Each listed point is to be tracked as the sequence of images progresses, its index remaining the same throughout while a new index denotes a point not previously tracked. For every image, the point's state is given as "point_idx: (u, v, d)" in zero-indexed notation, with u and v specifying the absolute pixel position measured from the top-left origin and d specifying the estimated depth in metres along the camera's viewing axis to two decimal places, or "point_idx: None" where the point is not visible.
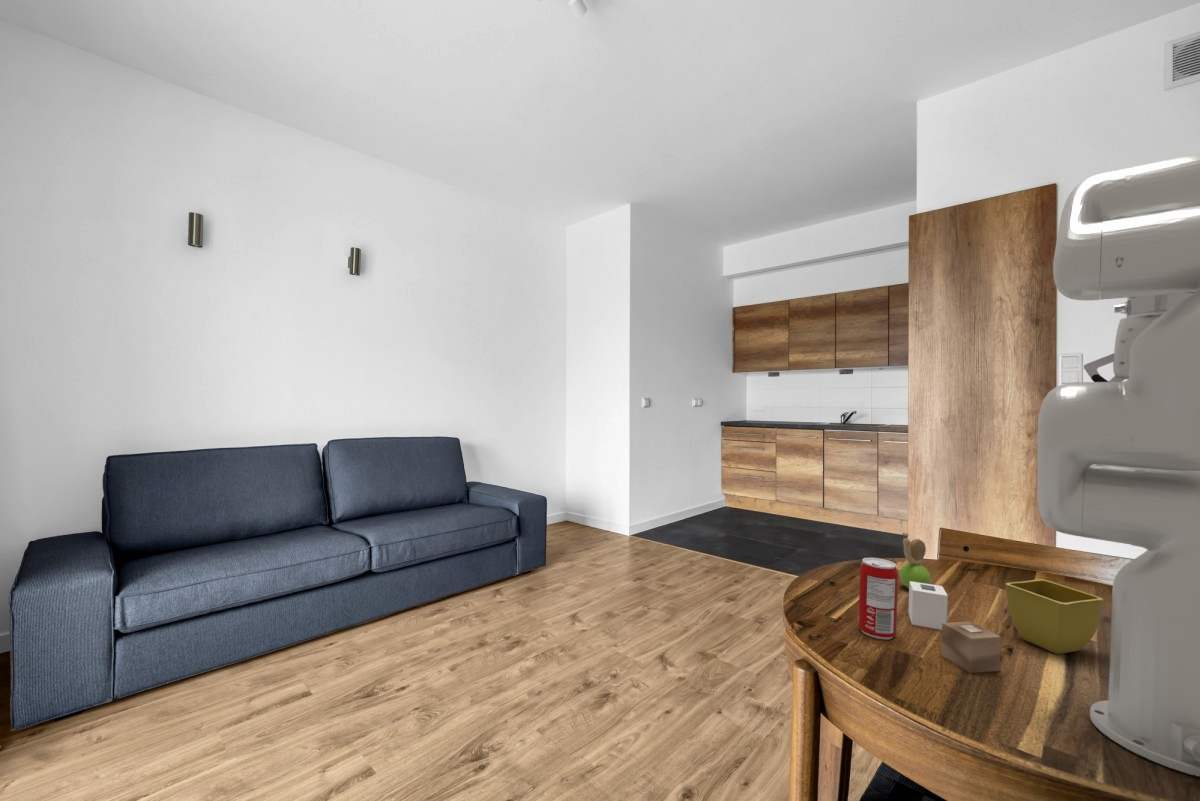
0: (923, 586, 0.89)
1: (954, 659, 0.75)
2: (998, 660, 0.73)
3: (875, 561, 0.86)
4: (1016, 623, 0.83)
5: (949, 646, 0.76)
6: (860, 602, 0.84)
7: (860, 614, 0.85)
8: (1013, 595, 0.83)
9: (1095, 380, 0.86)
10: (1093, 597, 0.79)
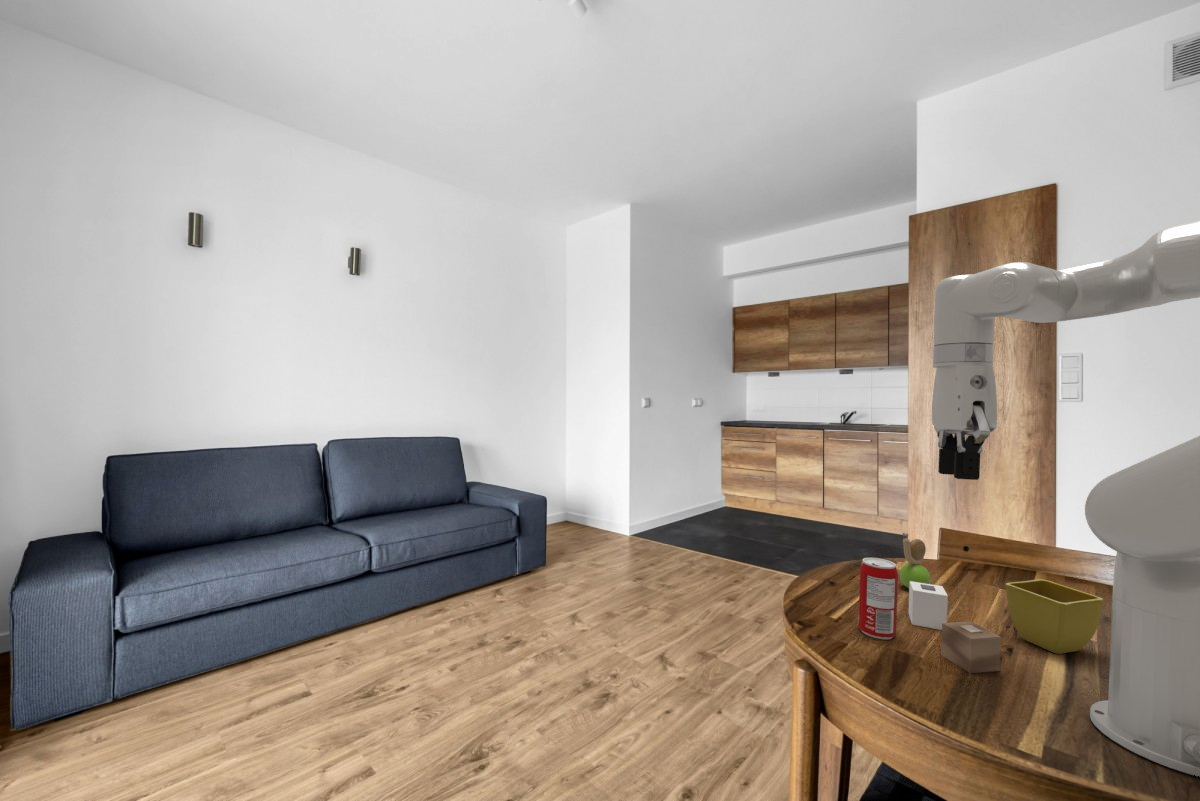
0: (923, 586, 0.89)
1: (954, 659, 0.75)
2: (998, 660, 0.73)
3: (875, 561, 0.86)
4: (1016, 623, 0.83)
5: (949, 646, 0.76)
6: (860, 602, 0.84)
7: (860, 614, 0.85)
8: (1013, 595, 0.83)
9: (982, 442, 0.73)
10: (1093, 597, 0.79)
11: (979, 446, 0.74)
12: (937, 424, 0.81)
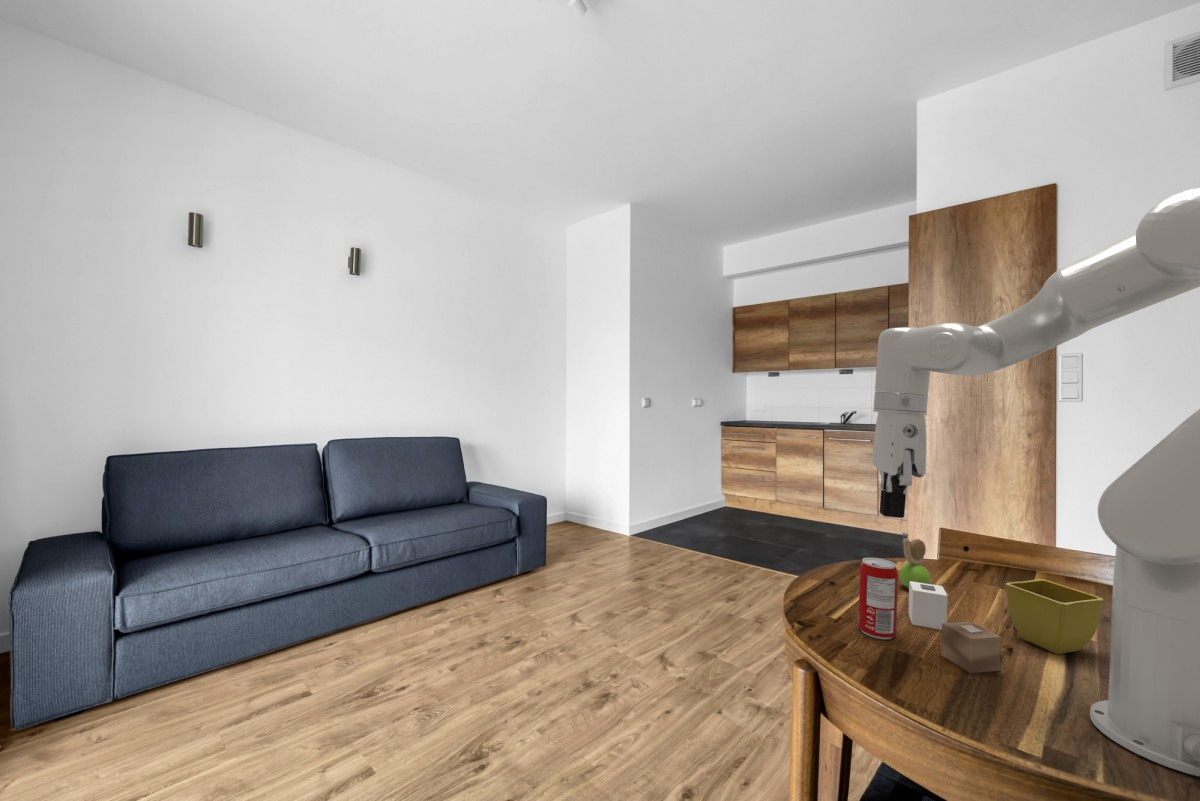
0: (923, 586, 0.89)
1: (954, 659, 0.75)
2: (998, 660, 0.73)
3: (875, 561, 0.86)
4: (1016, 623, 0.83)
5: (949, 647, 0.76)
6: (860, 602, 0.84)
7: (860, 614, 0.85)
8: (1013, 595, 0.83)
9: (906, 485, 0.80)
10: (1093, 597, 0.79)
11: (903, 488, 0.81)
12: (876, 464, 0.86)
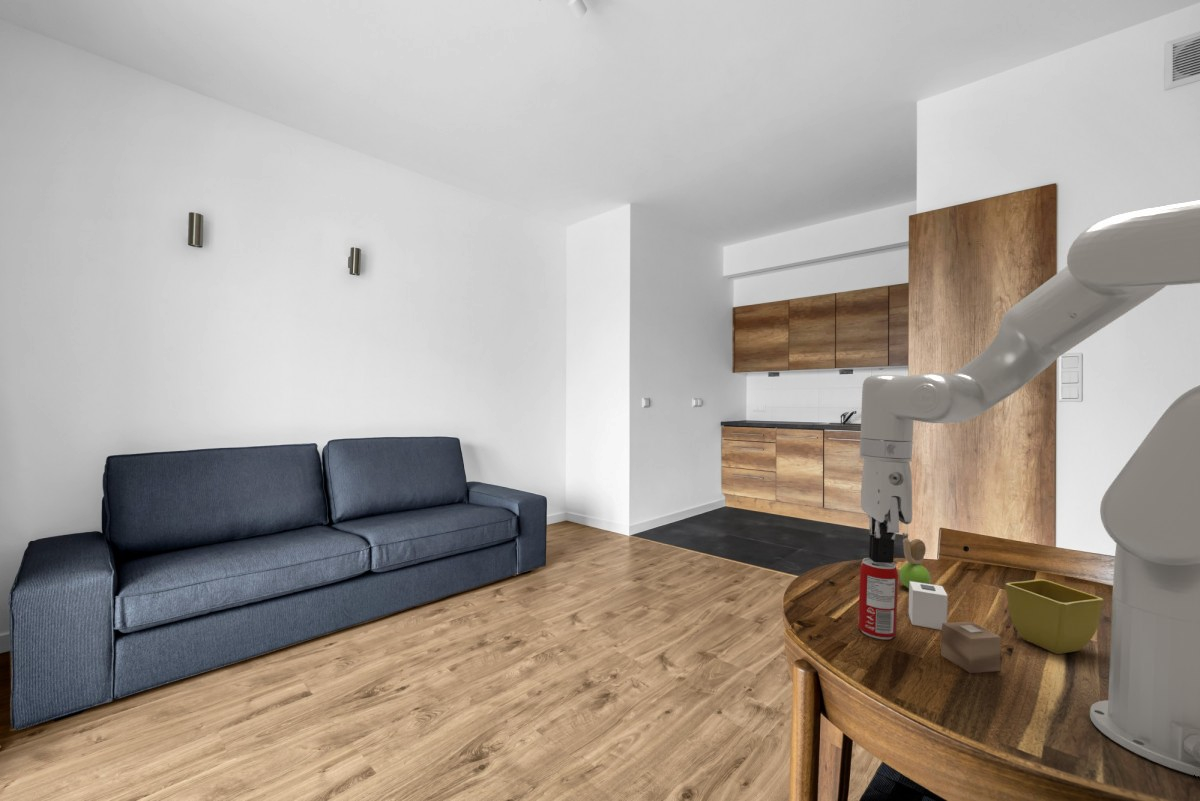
0: (923, 586, 0.89)
1: (954, 659, 0.75)
2: (998, 660, 0.73)
3: None
4: (1016, 623, 0.83)
5: (949, 647, 0.76)
6: (860, 602, 0.84)
7: (860, 614, 0.85)
8: (1013, 595, 0.83)
9: None
10: (1093, 597, 0.79)
11: (891, 534, 0.81)
12: (864, 509, 0.87)
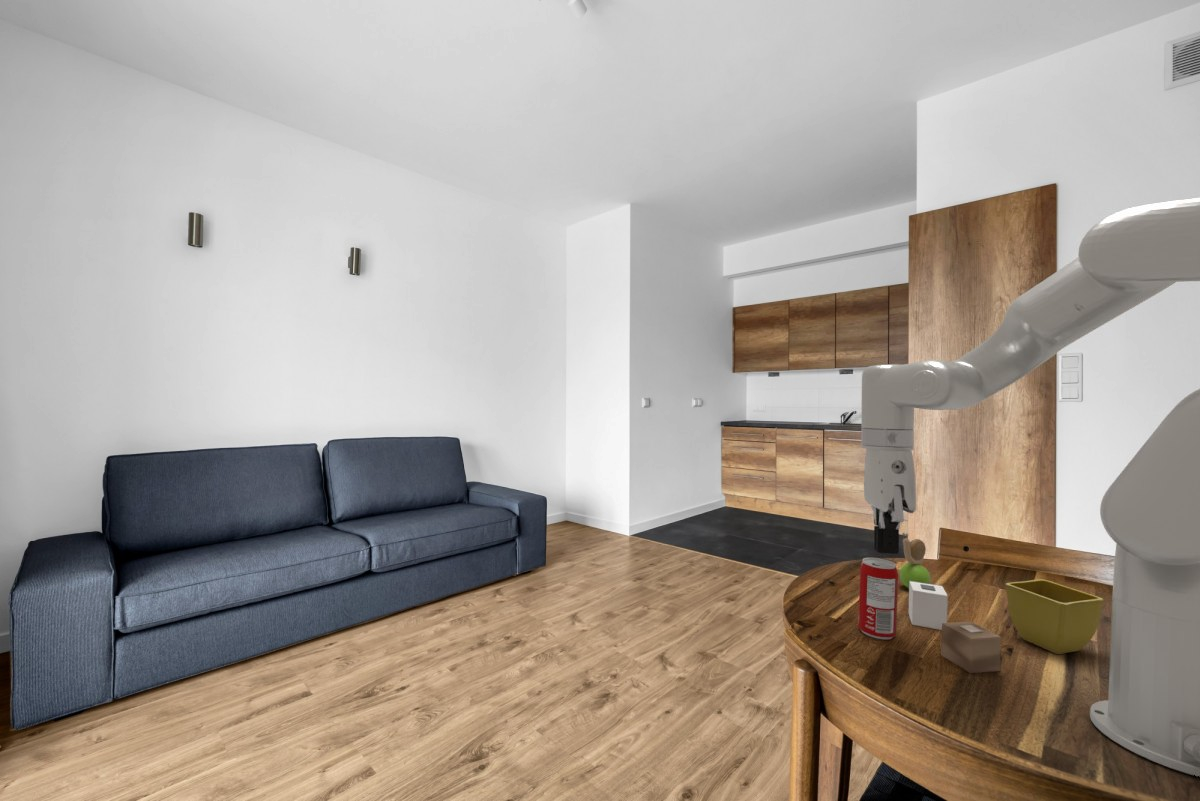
0: (923, 586, 0.89)
1: (954, 659, 0.75)
2: (998, 660, 0.73)
3: (875, 561, 0.86)
4: (1016, 623, 0.83)
5: (949, 647, 0.76)
6: (860, 602, 0.84)
7: (860, 614, 0.85)
8: (1013, 595, 0.83)
9: None
10: (1093, 597, 0.79)
11: (896, 524, 0.81)
12: (867, 500, 0.86)
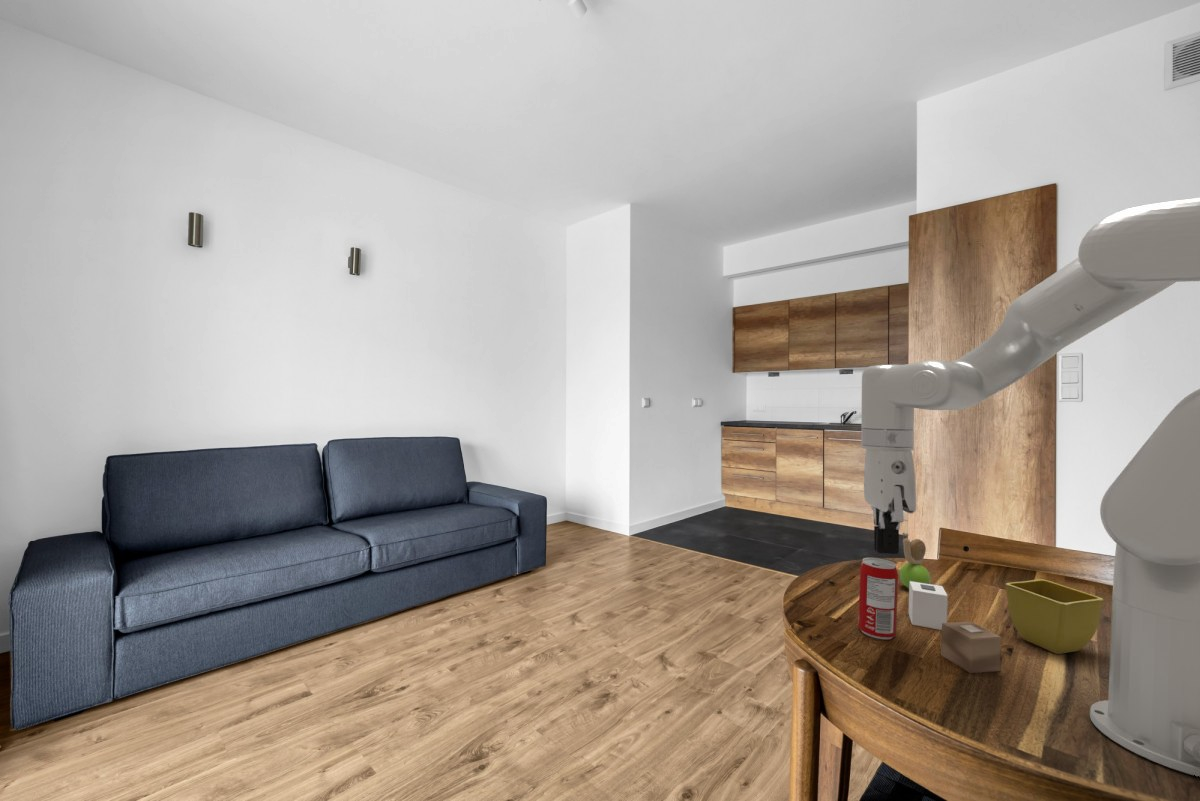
0: (923, 586, 0.89)
1: (954, 659, 0.75)
2: (998, 660, 0.73)
3: (875, 561, 0.86)
4: (1016, 623, 0.83)
5: (949, 647, 0.76)
6: (860, 602, 0.84)
7: (860, 614, 0.85)
8: (1013, 595, 0.83)
9: (899, 521, 0.81)
10: (1093, 597, 0.79)
11: (896, 524, 0.81)
12: (867, 500, 0.86)
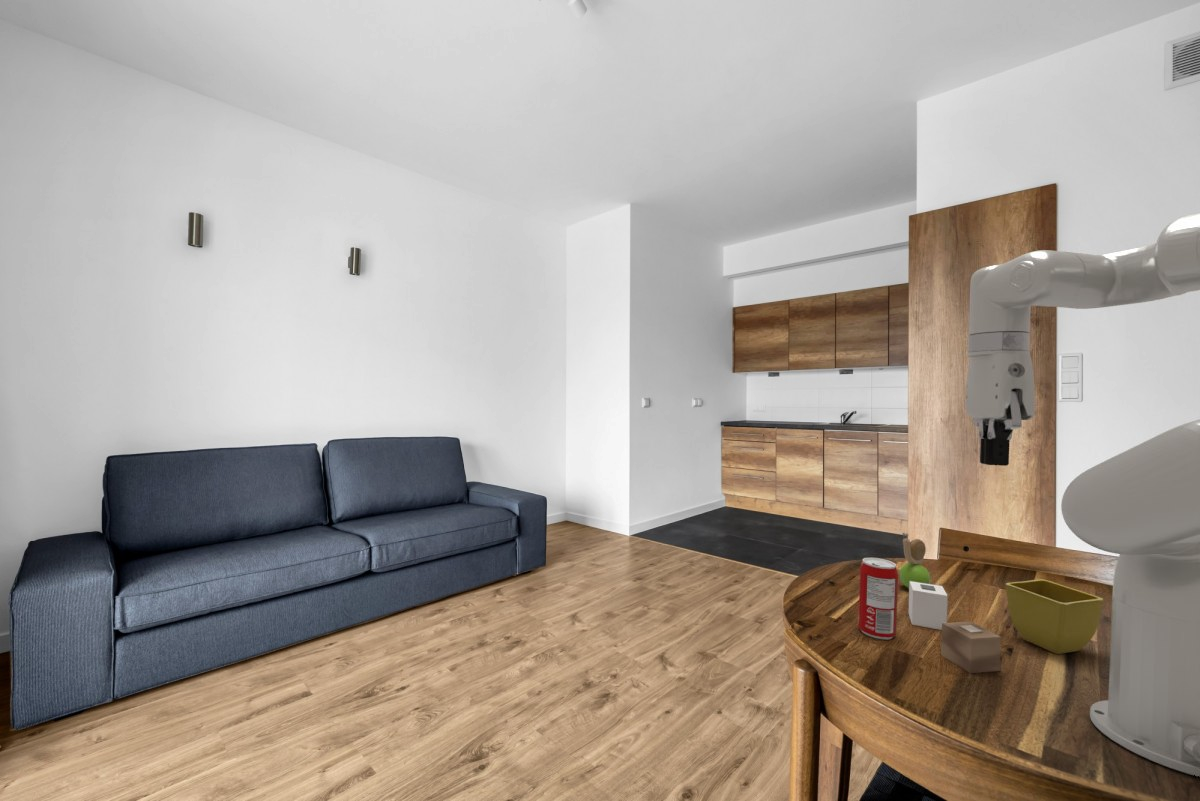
0: (923, 586, 0.89)
1: (954, 659, 0.75)
2: (998, 660, 0.73)
3: (875, 561, 0.86)
4: (1016, 623, 0.83)
5: (949, 647, 0.76)
6: (860, 602, 0.84)
7: (860, 614, 0.85)
8: (1013, 595, 0.83)
9: (1012, 429, 0.76)
10: (1093, 597, 0.79)
11: (1009, 433, 0.77)
12: (972, 413, 0.82)
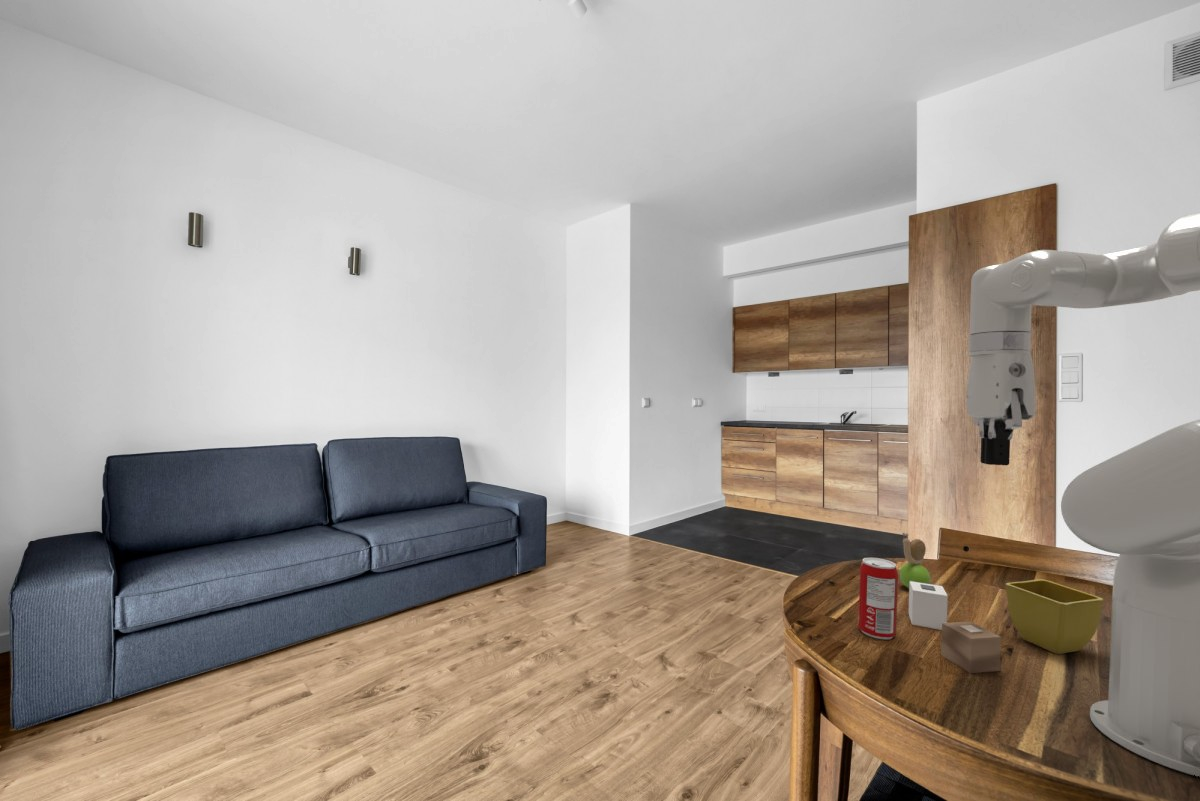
0: (923, 586, 0.89)
1: (954, 659, 0.75)
2: (998, 660, 0.73)
3: (875, 561, 0.86)
4: (1016, 623, 0.83)
5: (949, 646, 0.76)
6: (860, 602, 0.84)
7: (860, 614, 0.85)
8: (1013, 595, 0.83)
9: (1013, 429, 0.76)
10: (1093, 597, 0.79)
11: (1009, 432, 0.77)
12: (973, 412, 0.82)
